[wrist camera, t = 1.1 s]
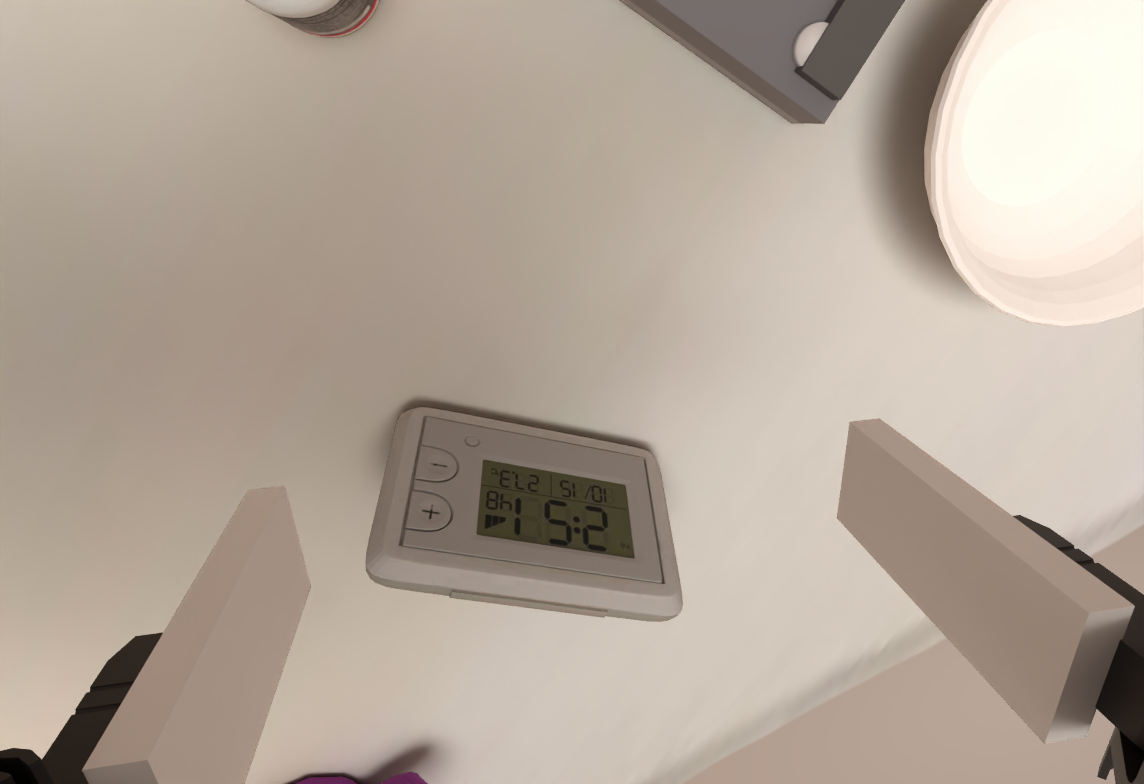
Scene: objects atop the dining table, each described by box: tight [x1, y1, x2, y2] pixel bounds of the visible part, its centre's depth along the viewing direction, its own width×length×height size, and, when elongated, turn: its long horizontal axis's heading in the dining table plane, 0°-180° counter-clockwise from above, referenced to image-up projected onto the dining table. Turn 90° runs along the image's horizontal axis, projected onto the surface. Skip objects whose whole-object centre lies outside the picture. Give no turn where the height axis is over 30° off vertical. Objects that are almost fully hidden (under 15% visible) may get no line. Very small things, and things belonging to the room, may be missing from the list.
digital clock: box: [366, 407, 683, 622], centre depth 35 cm, size 16×9×11 cm, turn 63°
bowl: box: [924, 0, 1144, 326], centre depth 33 cm, size 20×20×6 cm
